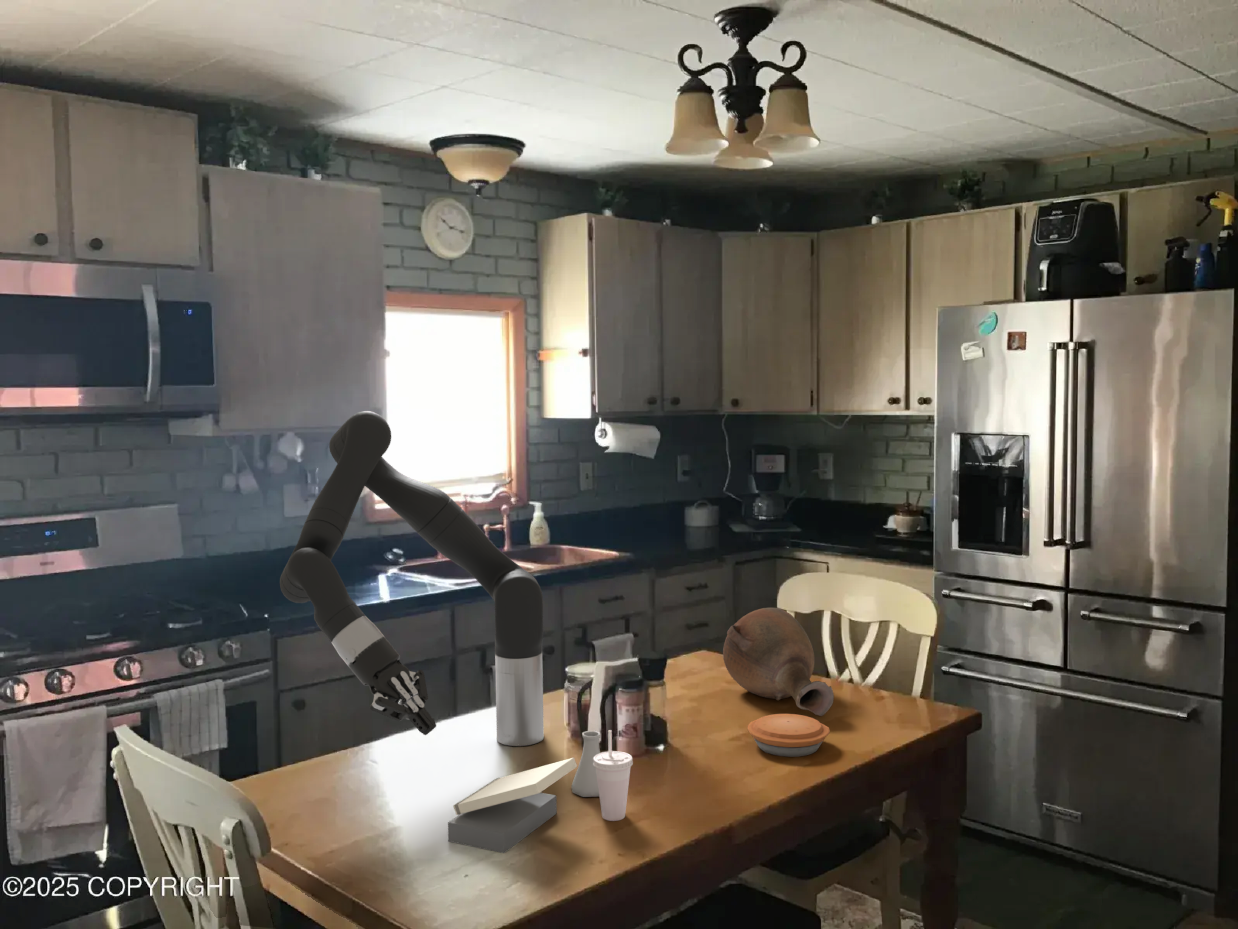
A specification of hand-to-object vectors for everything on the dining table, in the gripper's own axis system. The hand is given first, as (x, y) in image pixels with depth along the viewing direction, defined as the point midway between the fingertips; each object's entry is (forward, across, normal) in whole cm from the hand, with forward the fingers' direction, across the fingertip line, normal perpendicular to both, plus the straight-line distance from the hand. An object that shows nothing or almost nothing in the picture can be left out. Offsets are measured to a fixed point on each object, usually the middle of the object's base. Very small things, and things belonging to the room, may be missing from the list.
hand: (430, 731), depth 173 cm
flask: (+25, -15, +5) cm, 30 cm away
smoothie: (+30, -7, +12) cm, 33 cm away
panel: (+13, +3, +2) cm, 13 cm away
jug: (+42, -76, +11) cm, 88 cm away
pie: (+46, -49, +21) cm, 70 cm away
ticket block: (+19, +4, +3) cm, 20 cm away
